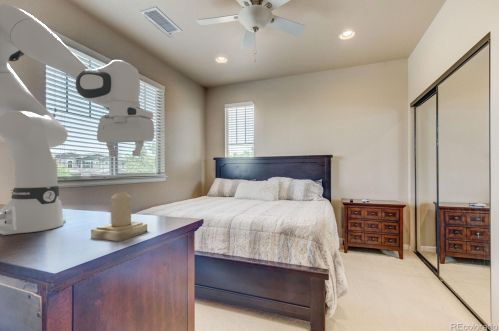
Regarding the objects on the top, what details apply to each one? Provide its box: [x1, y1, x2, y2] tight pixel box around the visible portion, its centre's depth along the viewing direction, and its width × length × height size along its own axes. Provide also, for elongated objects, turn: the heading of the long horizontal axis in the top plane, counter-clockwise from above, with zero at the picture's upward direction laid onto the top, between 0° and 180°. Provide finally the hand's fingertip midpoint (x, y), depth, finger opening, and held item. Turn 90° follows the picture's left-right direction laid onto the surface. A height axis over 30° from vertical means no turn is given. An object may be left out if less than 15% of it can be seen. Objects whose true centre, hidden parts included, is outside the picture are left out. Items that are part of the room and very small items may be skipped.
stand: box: [90, 221, 148, 242], centre depth 77 cm, size 11×11×3 cm
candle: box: [110, 191, 132, 226], centre depth 78 cm, size 6×6×10 cm
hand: (124, 156), depth 80 cm, fingers open, 8 cm apart
